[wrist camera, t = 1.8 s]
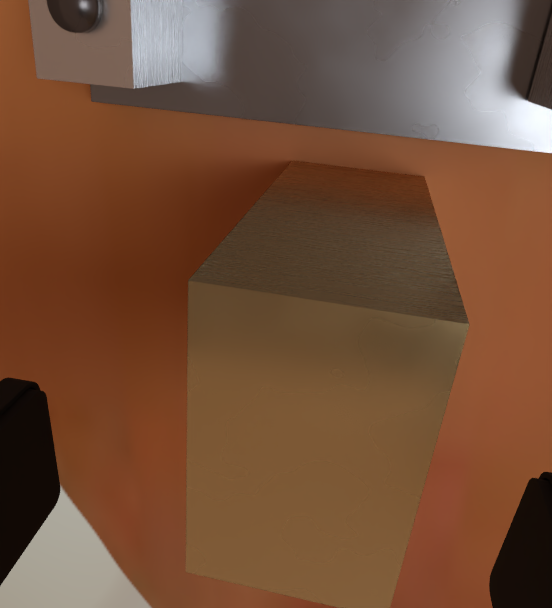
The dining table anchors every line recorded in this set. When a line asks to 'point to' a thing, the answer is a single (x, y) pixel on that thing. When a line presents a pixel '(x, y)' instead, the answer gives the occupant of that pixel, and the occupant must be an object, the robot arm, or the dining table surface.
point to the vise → (312, 62)
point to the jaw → (543, 74)
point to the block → (318, 384)
